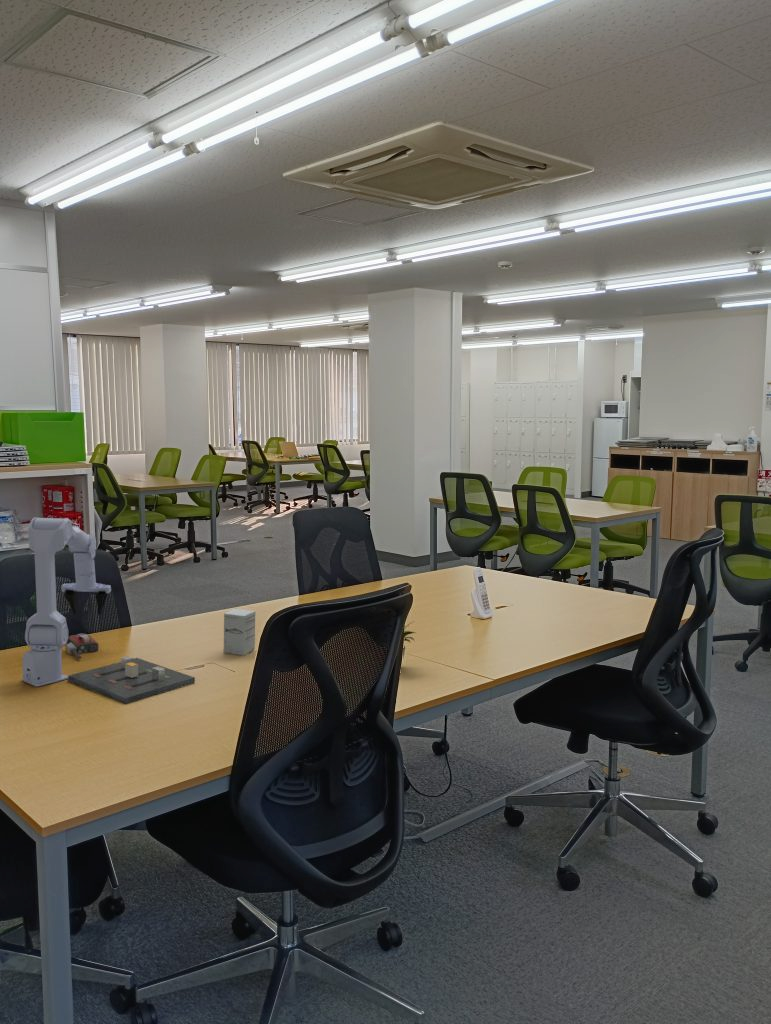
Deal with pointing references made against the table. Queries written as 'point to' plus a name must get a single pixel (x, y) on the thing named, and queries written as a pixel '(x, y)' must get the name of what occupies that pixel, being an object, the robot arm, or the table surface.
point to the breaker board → (131, 680)
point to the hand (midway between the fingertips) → (88, 613)
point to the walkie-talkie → (81, 644)
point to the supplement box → (239, 631)
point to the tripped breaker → (131, 670)
